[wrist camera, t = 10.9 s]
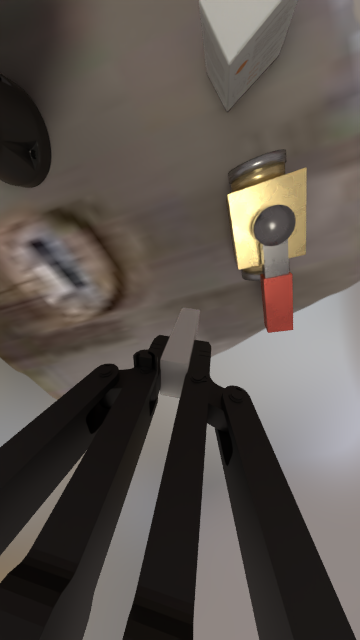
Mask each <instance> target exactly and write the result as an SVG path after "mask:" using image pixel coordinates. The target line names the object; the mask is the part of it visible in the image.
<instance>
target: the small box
mask: <svg viewBox="0 0 360 640" xmlns="http://www.w3.org/2000/svg"><path fill="white" fill-rule="evenodd" d="M297 2H298V0H199V10H200V19H201V27H202V36H203V45H204V54H205V63H206V71H207V74H208V76H209V78H210V80H211V82H212V84H213V86H214V88H215V90H216V92H217V94H218V96H219V98H220V100H221V102H222V104H223V105H224V107H225V109H226V111H227V112H228V111H229V110H230V108H231V107H232V106H233V105H234V104H235V103H236V102H237V101H238V100H239V98H240V97H241V96H242V95H243V94H244V93H245V92H246V91H247V90H248V89H249V87H250V86H251V85H252V84H253V83H254V82H255V81H256V80H257V79H258V78H259V77H260V75H261V74H262V73H263V72H264V71H265V70H266V69H267V68H268V67H269V65H270V64H271V63H272V62H273V61H274V60H275V59H276V58H277V57H278V56H279V54H280V51H281V48H282V45H283V42H284V40H285V37H286V34H287V31H288V28H289V25H290V22H291V20H292V17H293V14H294V11H295V8H296V5H297Z"/></svg>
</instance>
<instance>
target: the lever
mask: <svg viewBox="0 0 360 640" xmlns="http://www.w3.org/2000/svg"><path fill="white" fill-rule="evenodd" d="M295 223H296V219H295V215H294V212H293V211H292V210H291V209H290V208H289V207H288V206H285V205H273V206H269V207H267V208H265V209H263V210H262V211H260V212H259V213H258V215H257V216H256V218H255V219H254V222H253V225H252V232H253V236H254V238H255V239H256V240H257V241H258V242H260V248H261V260H262V272H263V274H260V279H261V290H262V301H263V312H264V323H265V327H266V329H267V331H268V333H270V332H278V331H287V330H293V292H292V273H290V272H289V260H288V238H289V237H290V236H291V234H292V232H293V230H294V228H295Z"/></svg>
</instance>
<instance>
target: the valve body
mask: <svg viewBox="0 0 360 640" xmlns="http://www.w3.org/2000/svg"><path fill="white" fill-rule="evenodd" d="M231 187H232V193H231V194H228V196H227V200H226V203H227V209H228V216H229V223H230V230H231V236H232V243H233V250H234V256H235V260H236V263H237V266H238V269H243V272H245V273H261V272H262V260H261V248H260V242H258V241H257V240H256V239H255V238H254V236H253V232H252V225H253V222H254V219H255V218H256V216H257V215H258V213H259V212H260V211H262V210H263V209H265V208H267V207H269V206H273V205H285V206H288V207H289V208H290V209H291V210H292V211H293V212H294V215H295V219H296V223H295V228H294V230H293V232H292V234H291V236H290V237H289V238H288V258H292V257H296V256H301V255H305V254H306V168H303V169H300V170H297V171H295V172H292V173H289V174H286V175H285V162H278V163H274V164H270V165H267V166H264V167H262V168H259V169H256V170H254V171H251V172H249V173H247V174H245V175H242V176H240V177H238V178H237V179H235V180H233V181H232V182H231Z"/></svg>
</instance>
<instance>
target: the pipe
mask: <svg viewBox="0 0 360 640" xmlns="http://www.w3.org/2000/svg"><path fill="white" fill-rule="evenodd" d="M278 162H285V163H286V150H285V149H282V150H277V151H273V152H270V153H267V154H264V155H261V156H259V157H256V158H254V159H251V160H249V161H247V162H245V163H243V164H241V165H239V166H237V167H236V168H234V169H232V170H231V171H230V172H229V173H228V176H229V183H230V184H231V182H232V181H233V180H235V179H237V178H238V177H240V176H242V175H245V174H247V173H249V172H251V171H254V170H256V169H259V168H262V167H264V166H267V165H270V164H274V163H278ZM260 274H263V272H261V273H245V272H243V269H242V277H243V279H245V280H253V281H254V280H261V279H260Z"/></svg>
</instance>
